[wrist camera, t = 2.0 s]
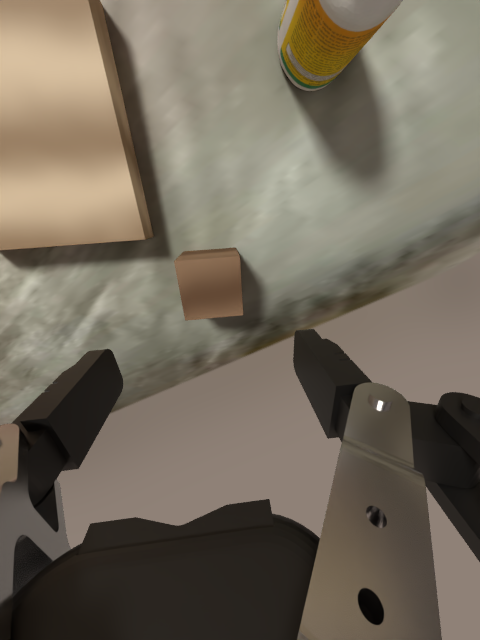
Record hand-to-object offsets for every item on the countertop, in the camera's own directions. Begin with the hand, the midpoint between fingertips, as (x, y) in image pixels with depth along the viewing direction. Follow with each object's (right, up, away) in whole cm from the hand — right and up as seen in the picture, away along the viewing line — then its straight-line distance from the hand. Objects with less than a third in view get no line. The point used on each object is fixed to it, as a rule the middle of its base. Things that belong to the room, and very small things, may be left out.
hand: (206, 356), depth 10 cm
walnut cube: (-1, +6, +12) cm, 14 cm away
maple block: (-14, +15, +7) cm, 22 cm away
